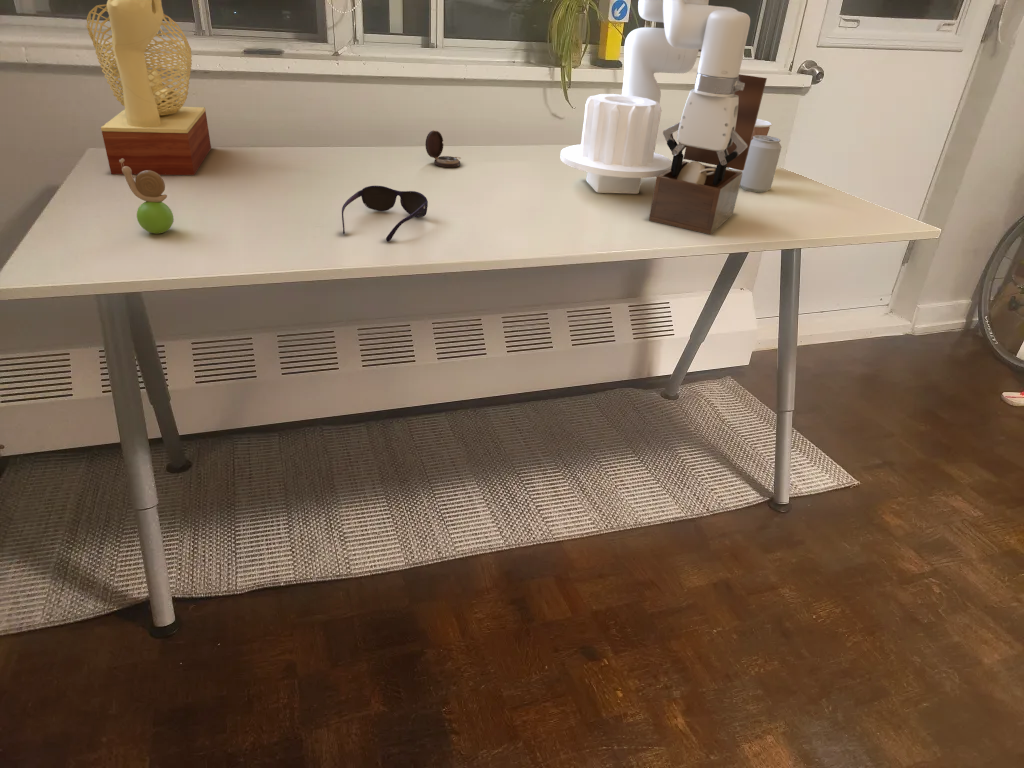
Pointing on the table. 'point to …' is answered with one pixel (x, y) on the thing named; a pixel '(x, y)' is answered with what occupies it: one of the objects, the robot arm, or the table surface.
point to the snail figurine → (150, 200)
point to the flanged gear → (618, 143)
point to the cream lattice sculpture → (148, 92)
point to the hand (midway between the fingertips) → (695, 179)
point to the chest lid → (737, 124)
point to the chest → (694, 201)
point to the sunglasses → (391, 203)
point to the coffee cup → (759, 131)
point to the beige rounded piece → (695, 173)
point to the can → (761, 163)
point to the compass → (439, 150)
